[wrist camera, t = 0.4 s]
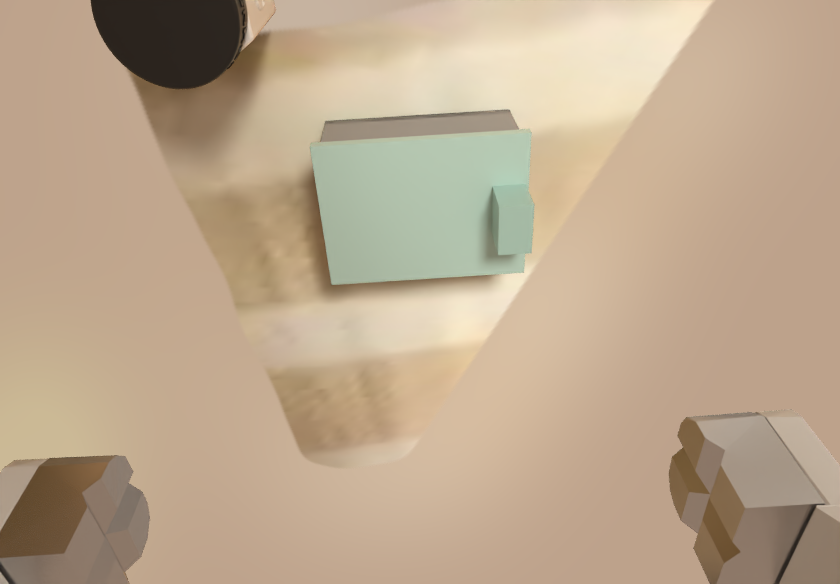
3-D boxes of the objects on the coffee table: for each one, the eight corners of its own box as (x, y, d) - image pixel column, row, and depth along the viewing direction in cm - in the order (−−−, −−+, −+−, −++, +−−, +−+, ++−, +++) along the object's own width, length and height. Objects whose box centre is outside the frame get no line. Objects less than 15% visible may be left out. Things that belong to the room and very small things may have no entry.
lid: (310, 142, 45) (304, 166, 42) (529, 128, 45) (541, 151, 42) (332, 279, 52) (328, 309, 49) (522, 267, 52) (531, 296, 49)
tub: (325, 121, 50) (318, 148, 46) (509, 109, 51) (522, 135, 46) (342, 238, 57) (337, 274, 52) (505, 228, 57) (516, 262, 52)
